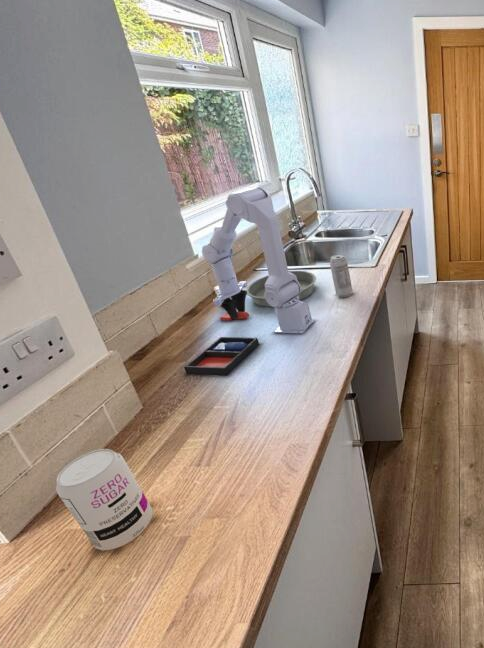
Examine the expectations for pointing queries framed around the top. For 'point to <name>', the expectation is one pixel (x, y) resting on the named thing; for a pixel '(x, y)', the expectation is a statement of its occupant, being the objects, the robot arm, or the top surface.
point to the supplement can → (104, 498)
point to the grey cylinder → (341, 275)
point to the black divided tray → (220, 358)
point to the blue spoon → (230, 346)
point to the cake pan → (258, 288)
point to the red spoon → (240, 316)
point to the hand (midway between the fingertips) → (238, 314)
